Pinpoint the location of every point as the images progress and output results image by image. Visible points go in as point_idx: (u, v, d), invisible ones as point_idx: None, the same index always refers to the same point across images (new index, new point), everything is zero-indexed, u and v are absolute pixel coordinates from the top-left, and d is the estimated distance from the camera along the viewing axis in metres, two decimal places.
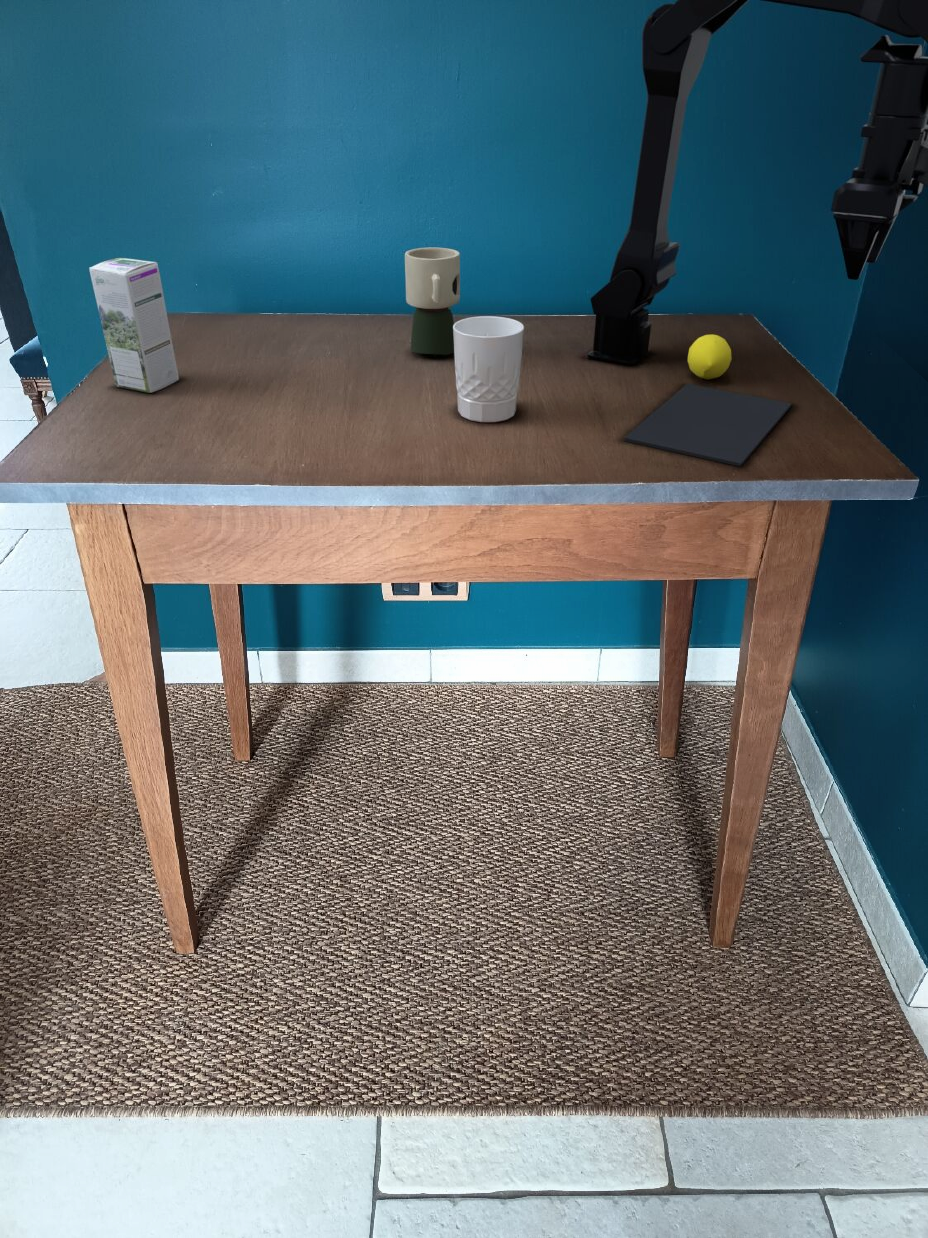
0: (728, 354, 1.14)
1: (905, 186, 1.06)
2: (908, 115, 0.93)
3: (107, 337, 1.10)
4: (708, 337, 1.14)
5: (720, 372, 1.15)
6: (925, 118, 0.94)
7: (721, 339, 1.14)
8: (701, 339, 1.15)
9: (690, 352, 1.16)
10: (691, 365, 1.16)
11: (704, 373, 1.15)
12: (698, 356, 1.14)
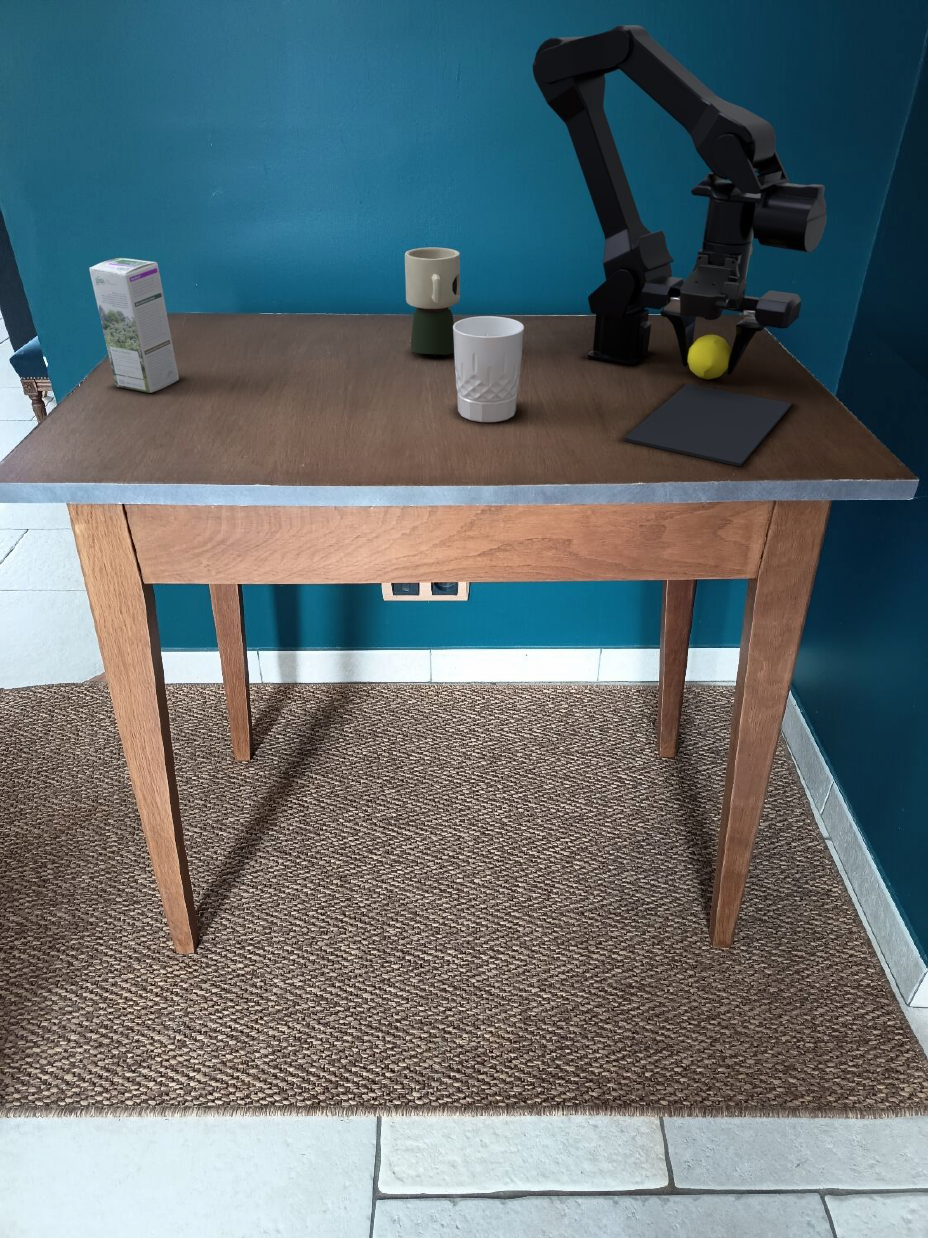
0: (728, 354, 1.14)
1: None
2: (703, 238, 1.08)
3: (107, 337, 1.10)
4: (708, 337, 1.14)
5: (720, 372, 1.15)
6: (714, 245, 1.07)
7: (721, 339, 1.14)
8: (701, 339, 1.15)
9: (690, 352, 1.16)
10: (691, 365, 1.16)
11: (704, 373, 1.15)
12: (698, 356, 1.14)
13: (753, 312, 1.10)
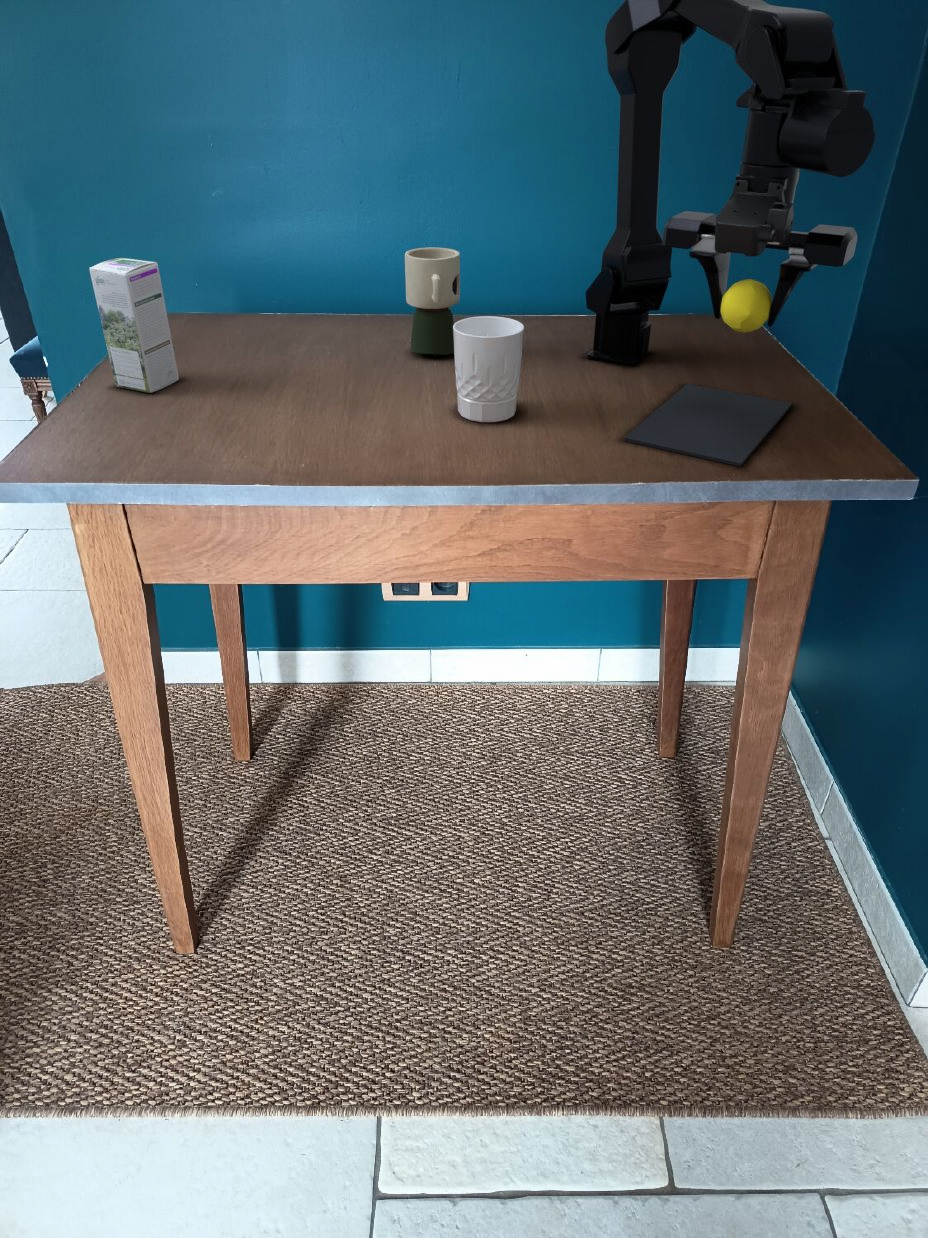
0: (769, 301, 0.97)
1: None
2: (741, 160, 0.91)
3: (107, 337, 1.10)
4: (745, 282, 0.97)
5: (760, 323, 0.98)
6: (755, 167, 0.90)
7: (761, 284, 0.97)
8: (737, 284, 0.98)
9: (724, 300, 0.98)
10: (725, 315, 0.98)
11: (741, 325, 0.98)
12: (734, 304, 0.97)
13: (800, 249, 0.93)
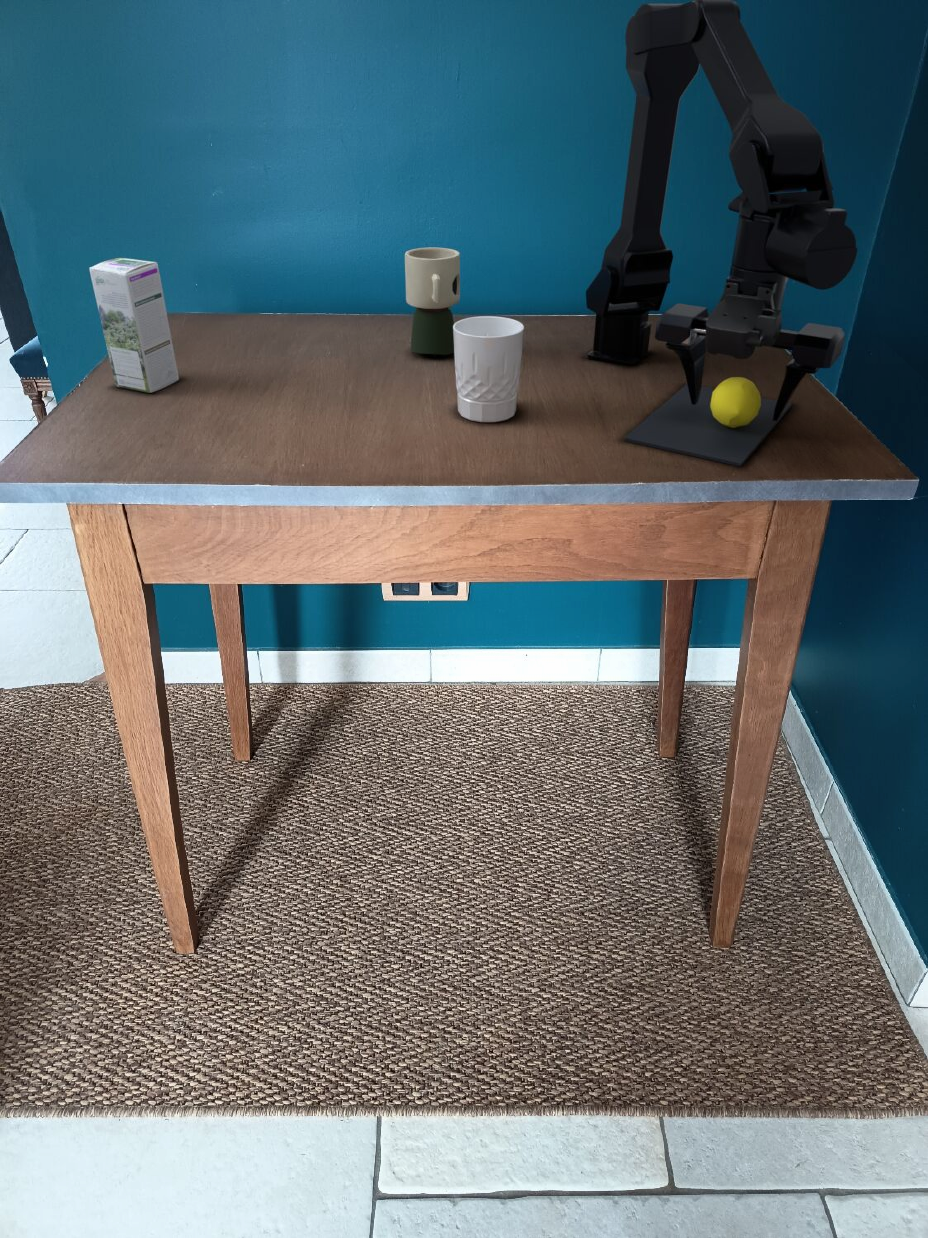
0: (757, 400, 1.00)
1: None
2: (731, 263, 0.94)
3: (107, 337, 1.10)
4: (734, 380, 1.00)
5: (748, 420, 1.01)
6: (745, 272, 0.92)
7: (749, 383, 1.00)
8: (726, 382, 1.01)
9: (713, 397, 1.01)
10: (715, 412, 1.01)
11: (730, 422, 1.01)
12: (723, 403, 1.00)
13: None
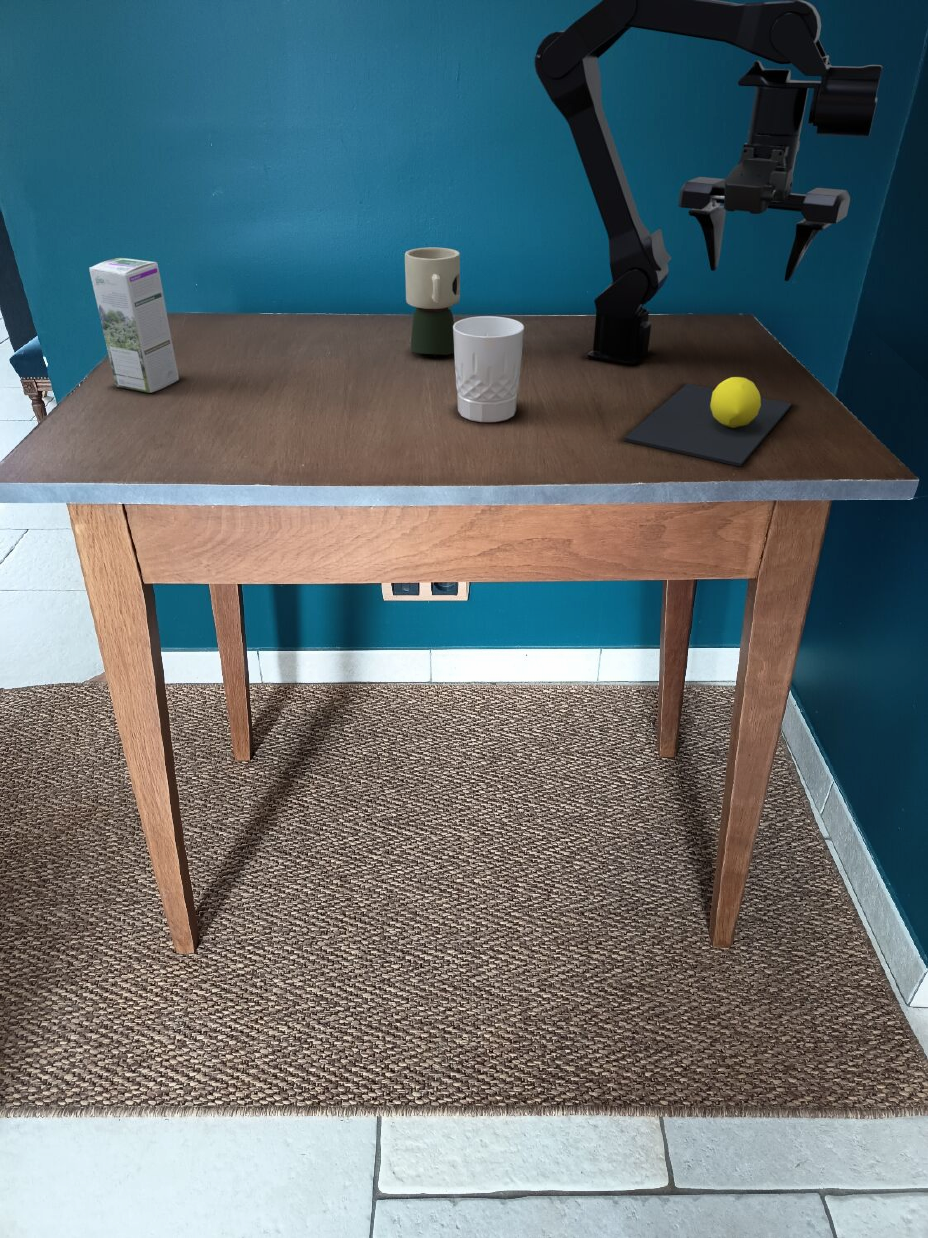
0: (757, 400, 1.00)
1: None
2: None
3: (107, 337, 1.10)
4: (734, 380, 1.00)
5: (748, 420, 1.01)
6: (760, 136, 1.03)
7: (749, 383, 1.00)
8: (726, 382, 1.01)
9: (713, 397, 1.01)
10: (715, 412, 1.01)
11: (730, 422, 1.01)
12: (723, 403, 1.00)
13: None
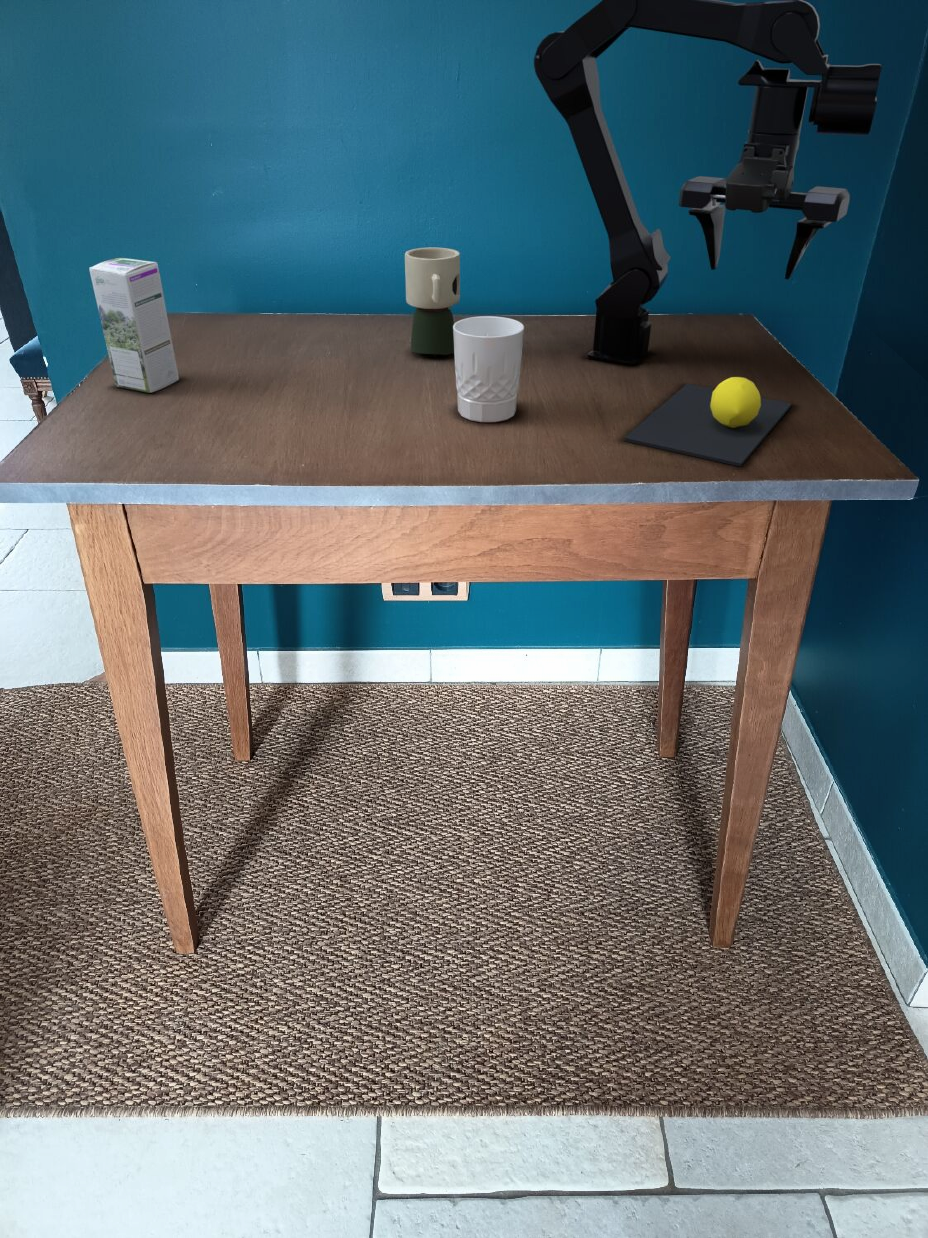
0: (757, 400, 1.00)
1: None
2: (748, 130, 1.05)
3: (107, 337, 1.10)
4: (734, 380, 1.00)
5: (748, 420, 1.01)
6: (760, 135, 1.03)
7: (749, 383, 1.00)
8: (726, 382, 1.01)
9: (713, 397, 1.01)
10: (715, 412, 1.01)
11: (730, 422, 1.01)
12: (723, 403, 1.00)
13: None
